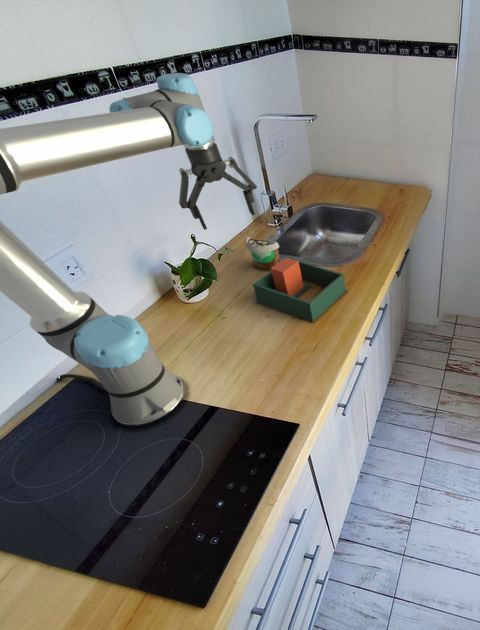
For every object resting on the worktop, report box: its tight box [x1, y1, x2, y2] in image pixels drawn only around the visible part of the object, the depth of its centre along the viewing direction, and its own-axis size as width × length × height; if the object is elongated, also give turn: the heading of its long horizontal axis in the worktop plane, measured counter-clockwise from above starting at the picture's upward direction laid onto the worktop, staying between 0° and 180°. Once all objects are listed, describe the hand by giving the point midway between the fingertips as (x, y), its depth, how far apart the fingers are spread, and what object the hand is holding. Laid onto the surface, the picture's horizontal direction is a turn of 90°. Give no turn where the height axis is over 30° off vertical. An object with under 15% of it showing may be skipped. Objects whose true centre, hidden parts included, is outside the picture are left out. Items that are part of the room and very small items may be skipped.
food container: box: [245, 235, 281, 271], centre depth 141 cm, size 12×6×10 cm, turn 73°
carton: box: [270, 257, 305, 296], centre depth 129 cm, size 5×8×11 cm, turn 155°
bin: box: [252, 257, 347, 323], centre depth 128 cm, size 22×18×7 cm
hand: (229, 220), depth 114 cm, fingers open, 13 cm apart
